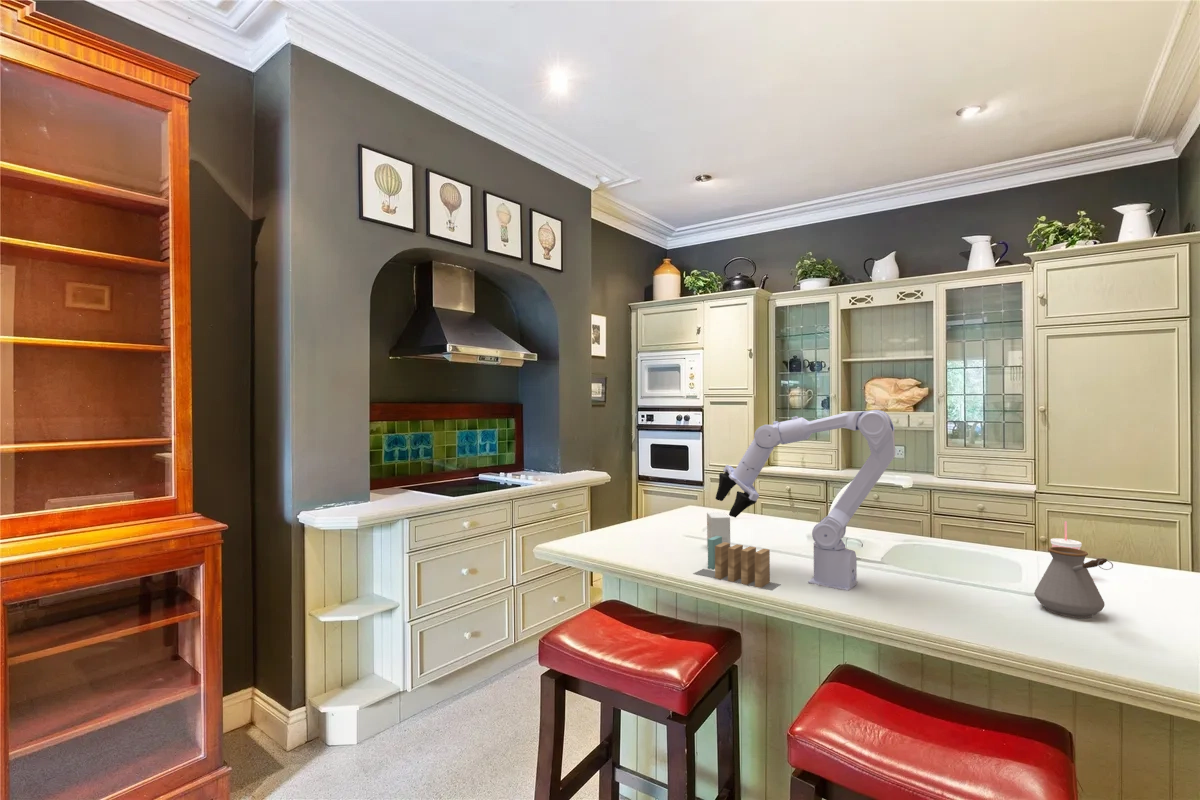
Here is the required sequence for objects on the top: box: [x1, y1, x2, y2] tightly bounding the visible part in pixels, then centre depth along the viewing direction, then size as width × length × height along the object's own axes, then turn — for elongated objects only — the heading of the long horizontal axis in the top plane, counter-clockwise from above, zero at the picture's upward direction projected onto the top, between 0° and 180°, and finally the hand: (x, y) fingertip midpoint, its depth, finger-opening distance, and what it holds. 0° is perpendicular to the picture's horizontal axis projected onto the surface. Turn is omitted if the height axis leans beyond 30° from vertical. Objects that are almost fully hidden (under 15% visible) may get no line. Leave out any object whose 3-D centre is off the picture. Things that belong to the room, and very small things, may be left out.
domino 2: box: [727, 544, 744, 583], centre depth 143 cm, size 2×5×8 cm, turn 141°
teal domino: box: [707, 536, 722, 570], centre depth 153 cm, size 2×5×8 cm, turn 141°
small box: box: [706, 512, 731, 548], centre depth 172 cm, size 8×6×10 cm
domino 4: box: [755, 548, 771, 589], centre depth 138 cm, size 2×5×8 cm, turn 141°
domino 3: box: [740, 546, 757, 586], centre depth 141 cm, size 2×5×8 cm, turn 141°
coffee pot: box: [1034, 546, 1114, 619], centre depth 116 cm, size 21×12×15 cm, turn 161°
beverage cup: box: [1050, 520, 1083, 550], centre depth 145 cm, size 6×6×14 cm
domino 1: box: [714, 542, 731, 580], centre depth 145 cm, size 2×5×8 cm, turn 141°
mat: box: [692, 568, 782, 591], centre depth 143 cm, size 21×6×1 cm, turn 51°
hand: (725, 507), depth 154 cm, fingers open, 7 cm apart
